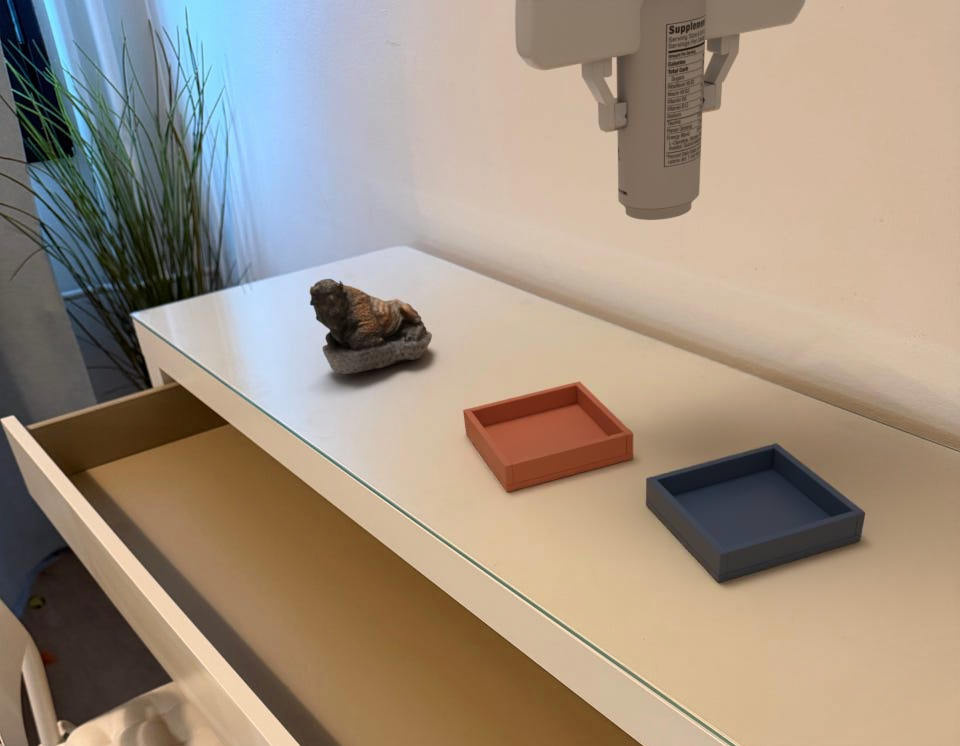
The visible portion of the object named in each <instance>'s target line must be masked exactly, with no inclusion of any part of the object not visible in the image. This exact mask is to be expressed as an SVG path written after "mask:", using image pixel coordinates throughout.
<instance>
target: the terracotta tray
mask: <svg viewBox="0 0 960 746" xmlns="http://www.w3.org/2000/svg"><path fill="white" fill-rule="evenodd" d="M462 413H463V421H464V428H465V435H466V436H467V437H468V439H469V440H470V441H471V443H472V445H473V446H474V448H475V449H476V450H477V452H478V453H479V454H480V456H481V457H482V458H483V460H484V461H485V462H486V465H488V467H489V468H490V469H491V471H492V472H493V474H494V475H495V477H496V478H497V479H498V481H499V482H500V484H501V485H502V487H503V488H504V489H505V491H506V492H507V493H509V492H513V491H517V490H520V489H524V488H528V487H532V486H536V485H539V484H540V485H541V484H544V483H547V482H551V481H555V480H559V479H563V478H566V477H569V476H573V475H577V474H581V473H585V472H589V471H592V470H597V469H600V468H603V467H607V466H611V465H615V464H619V463H622V462H626V461H630V460H633V459H634V432H632V431H631V430H630V429H629V427H627V425H625V424H624V423H623V422H622V421H621V420H620V419H619V418H618V417H617V416H616V415H615V414H614V413H613V412H612V411H611V410H610V409H609V408H608V407H606V405H605V404H603V402H601V401H600V400H599V398H597V397H596V396H595V394H593V393H592V392H591V391H590V390H589V389H588V388H587V387H586V386H585V384H583V383H582V382H581V381H576V382H571V383H566V384H564V385H563V384H562V385H559V386H555V387H551V388H547V389H543V390H539V391H535V392H531V393H527V394H526V393H525V394H522V395H519V396H514V397H511V398H507V399H502V400H498V401H493V402H490V403H486V404H482V405H478V406H473V407H470V408H465V409H463V410H462Z"/></svg>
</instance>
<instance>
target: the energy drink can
mask: <svg viewBox="0 0 960 746" xmlns="http://www.w3.org/2000/svg"><path fill="white" fill-rule="evenodd" d="M705 11H706V0H644V1H643V3H642V5H641V8H640V46H639V50H638V52H636V53H635V54H629V55H624V56H619V57H615V58H616V59H615V60H616V98H618V99H620V100H623V101H626V102H627V113H626V115H625V117H626V118H627V127H626V128H625V129H621V130H616V131H617V196H618V203H620V204H621V205H622V206H623V207H624V209H625V214H626V215H627V216H628V217H629V218H632V219H637V220H643V221H659V220H667V219H673V218H677V217H681V216H683V215H686V214H687V213H688V212H690V211H691V210H692V204H693V202H694V201H695V200H696V199H697V198H698V197H699V195H700V184H701V159H702V158H701V157H702V132H703V131H702V130H703V113H702V108H703V82H704V74H705V54H706V52H705V51H706V40H705Z"/></svg>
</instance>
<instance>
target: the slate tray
mask: <svg viewBox="0 0 960 746" xmlns="http://www.w3.org/2000/svg"><path fill="white" fill-rule="evenodd" d="M645 506H647V508H648V509H649V510H650V511H651V512H652V513H653V514H654V515H655V517H657V518H658V519H659V521H661V523H662V524H663V525H664V526H665V527H666V528H667V529H668V530H669V531H670V532H671V533H672V534H673V536H674V537H675V538H676V539H677V540H678V541H679V542H680V543H681V544H682V546H684V547H685V548H686V549H687V551H688V552H689V553H690V554H691V555H692V556H693V557H694V559H696V560H697V562H698V563H699V564H700V565H701V566H702V567H703V568H704V569H705V570H706V571H707V573H709V575H710V576H711V577H713V579H714V580H715V581H716V582H717V583H722V582H726V581H730V580H732V579H737V578H740V577H743V576H746V575H749V574H753V573H757V572H760V571H763V570H766V569H769V568H770V569H771V568H773V567H776V566H780V565H783V564H786V563H790V562H793V561H796V560H800V559H803V558H807V557H810V556H814V555H817V554H820V553H824V552H828V551H830V550H834V549H837V548H841V547H844V546H847V545H848V546H849V545H851V544H854V543H859V542H860V541H861V538H862V533H863V528H864V523H865V517H866V512H865V511H864V509H862V508H861V507H859V506H858V505H857V504H855V503H854V502H853V501H851V500H850V499H849V498H847V497H846V496H845V495H844V494H843V493H841V492H840V491H839V490H837V489H836V488H835V487H834V486H833V485H831V484H830V483H829V482H827V481H826V480H825V479H823V478H822V477H820V475H818V474H817V473H815V471H813V470H812V469H811V468H810V467H808V466H807V465H805V464H804V463H803V462H801V461H800V460H799V459H797V458H796V457H795V456H794V455H793V454H792V453H790V452H789V451H788V450H786V449H785V448H784V447H782V446H781V445H780V444H779V443H776V442H775V443H772V444H768V445H765V446H760V447H757V448H754V449H750V450H745V451H742V452H739V453H735V454H732V455H728V456H723V457H719V458H717V459H716V458H715V459H712V460H708V461H706V462H702V463H698V464H694V465H690V466H687V467H683V468H680V469H675V470H672V471H668V472H664V473H661V474H660V473H659V474H657V475H654V476H653V475H652V476H649V477H646V478H645Z"/></svg>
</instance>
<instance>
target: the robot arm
mask: <svg viewBox="0 0 960 746" xmlns="http://www.w3.org/2000/svg"><path fill="white" fill-rule="evenodd" d="M643 1H644V0H515V7H514V8H515V9H514V15H515V16H514V23H515V24H514V25H515V26H514V27H515V28H514V30H515V31H514V32H515V47H516V52H517V54H518V56H519V57H520V58H521V59H522V61H523V62H524V63H525V64H526V65H528V66H529V67H531V68H533V69H536V70H539V71H550V70H555V69H561V68H566V67H571V66H575V65H580V64H581V78H582V79H583V81H584V83H585V84H586V86H587V88H588V90H589V91H590V93H591V94H592V96H593V98H594V101H595V102H597V119H598V127H599V130H600V131H602V132H604V133H613V132H615V131H617V130H621V129H625V128H626V127H627V118H626V117H625V115H626V113H627V102H626V101H623V100H620V99H618V98H617V97H614V95H613V93H612V91H611V89H610V87H609V85H608V83H607V81H606V78H610V77H612V76H613V58H616V57H619V56H624V55H629V54H635V53H636V52H638V50H639V46H640V8H641V5H642V3H643ZM805 3H806V0H706V11H705V41H706V51H707V52H708V53H712V55H711V57H710V59H709V62H708V64H707V67H706V69H705V70H704V82H703V108H702V114H705V113H710V112H714V111H719V110H720V109H721V106H722V90H723V83H724V82H725V81H726V79H727V77H728V74H729V73H730V71H731V69H732V66H733V65H734V63H735V61H736V58H737V57H738V55H739V51H740V36H741V35H740V34H745V33H751V32H755V31H761V30H766V29H772V28H777V27H782V26H787V25H791V24H793V23H794V22H795V21H796V20H797V18H798V16H799V15H800V13H801V11H802V9H803V8H804V6H805Z"/></svg>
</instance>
